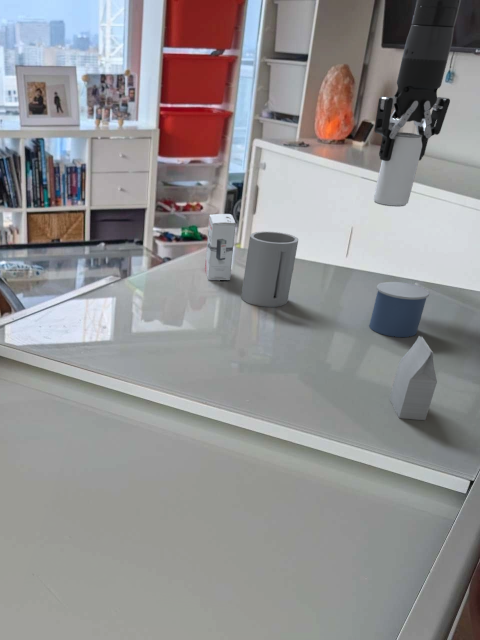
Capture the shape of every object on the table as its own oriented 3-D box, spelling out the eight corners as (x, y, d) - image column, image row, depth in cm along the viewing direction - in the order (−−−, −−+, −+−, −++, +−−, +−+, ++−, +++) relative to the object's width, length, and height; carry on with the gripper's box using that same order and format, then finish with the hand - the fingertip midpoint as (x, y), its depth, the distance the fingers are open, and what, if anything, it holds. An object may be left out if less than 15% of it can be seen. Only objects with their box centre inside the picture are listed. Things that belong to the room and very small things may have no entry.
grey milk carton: (398, 418, 109) (417, 352, 103) (389, 398, 114) (406, 334, 109) (425, 420, 109) (445, 354, 103) (414, 400, 114) (433, 336, 109)
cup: (259, 289, 157) (269, 229, 151) (296, 300, 152) (307, 239, 145) (232, 297, 152) (240, 235, 145) (268, 309, 147) (279, 246, 140)
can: (367, 199, 148) (382, 131, 142) (398, 199, 149) (415, 132, 142) (380, 206, 143) (397, 136, 136) (413, 207, 144) (431, 137, 137)
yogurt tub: (397, 318, 145) (407, 280, 141) (429, 335, 138) (440, 295, 134) (357, 322, 142) (366, 283, 138) (388, 340, 135) (398, 299, 131)
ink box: (203, 268, 168) (209, 212, 162) (225, 269, 168) (233, 213, 162) (206, 280, 161) (213, 222, 154) (230, 281, 161) (238, 223, 154)
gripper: (405, 56, 128) (380, 164, 137) (473, 59, 132) (445, 163, 141) (377, 54, 134) (356, 157, 143) (444, 56, 138) (418, 156, 147)
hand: (400, 159), depth 142 cm, fingers closed on can, 6 cm apart
